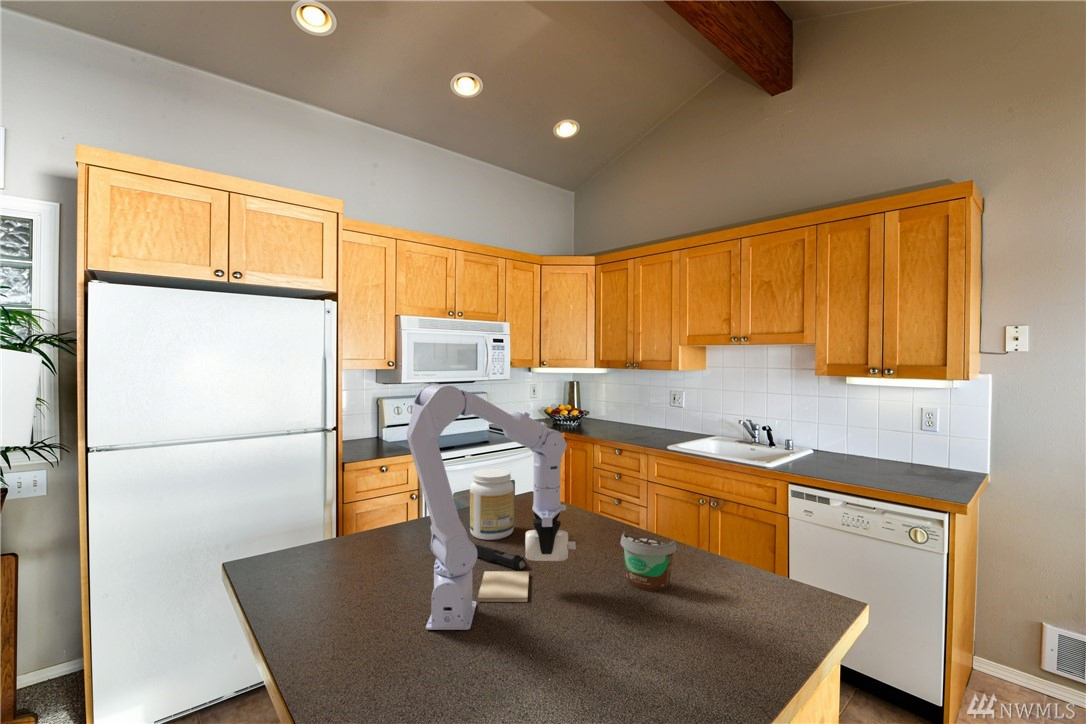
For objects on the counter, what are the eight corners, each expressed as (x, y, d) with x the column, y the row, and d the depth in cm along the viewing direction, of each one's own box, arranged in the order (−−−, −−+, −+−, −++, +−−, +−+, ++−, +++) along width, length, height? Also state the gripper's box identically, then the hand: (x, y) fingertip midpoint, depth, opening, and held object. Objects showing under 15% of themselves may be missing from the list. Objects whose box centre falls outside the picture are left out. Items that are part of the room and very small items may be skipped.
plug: (574, 553, 106) (575, 530, 105) (576, 561, 102) (576, 537, 101) (525, 552, 106) (525, 529, 105) (524, 560, 102) (525, 536, 101)
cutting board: (527, 601, 98) (527, 597, 98) (477, 601, 98) (477, 597, 98) (528, 575, 110) (528, 571, 110) (484, 574, 110) (484, 571, 110)
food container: (612, 585, 106) (612, 539, 105) (621, 574, 111) (621, 530, 111) (669, 599, 100) (670, 550, 100) (676, 586, 105) (676, 540, 105)
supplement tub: (522, 530, 138) (522, 471, 138) (495, 544, 128) (496, 480, 128) (488, 522, 145) (488, 465, 145) (460, 535, 134) (460, 474, 134)
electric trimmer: (479, 553, 123) (478, 541, 123) (528, 568, 115) (528, 554, 115) (468, 558, 120) (468, 545, 120) (518, 574, 112) (518, 560, 112)
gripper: (567, 495, 96) (567, 563, 96) (564, 476, 111) (564, 536, 111) (531, 494, 96) (531, 563, 96) (533, 476, 111) (532, 536, 111)
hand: (546, 549), depth 104 cm, fingers closed on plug, 4 cm apart
